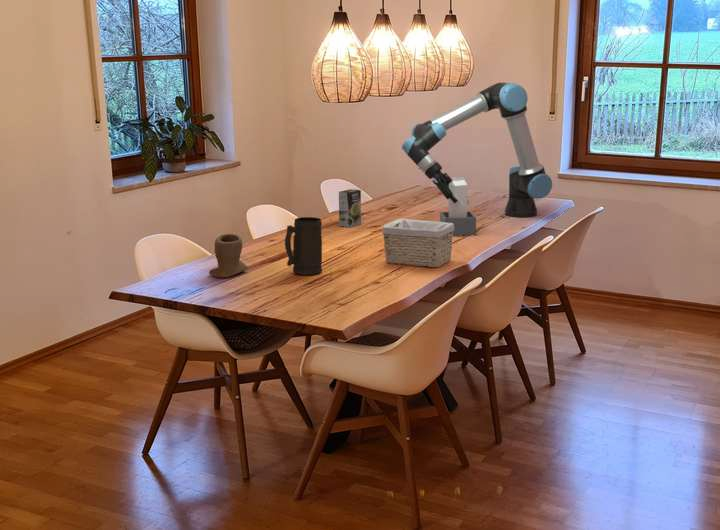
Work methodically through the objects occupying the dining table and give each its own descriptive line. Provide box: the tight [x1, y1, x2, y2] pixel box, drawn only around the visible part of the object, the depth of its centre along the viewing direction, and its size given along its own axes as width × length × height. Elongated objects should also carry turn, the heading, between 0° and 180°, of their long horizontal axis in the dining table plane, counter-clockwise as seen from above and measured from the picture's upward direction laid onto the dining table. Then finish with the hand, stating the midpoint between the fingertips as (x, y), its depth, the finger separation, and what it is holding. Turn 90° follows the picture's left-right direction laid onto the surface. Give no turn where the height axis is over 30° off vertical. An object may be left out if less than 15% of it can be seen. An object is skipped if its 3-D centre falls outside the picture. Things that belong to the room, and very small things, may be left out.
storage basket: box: [381, 218, 454, 268], centre depth 325 cm, size 24×16×15 cm
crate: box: [439, 210, 477, 237], centre depth 372 cm, size 14×14×8 cm
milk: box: [448, 176, 468, 218], centre depth 369 cm, size 6×6×22 cm
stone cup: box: [208, 233, 249, 278], centre depth 312 cm, size 15×12×15 cm
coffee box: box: [338, 188, 362, 228], centre depth 390 cm, size 9×6×16 cm
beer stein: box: [284, 216, 323, 276], centre depth 310 cm, size 15×11×20 cm
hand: (465, 205), depth 368 cm, fingers closed on milk, 8 cm apart
